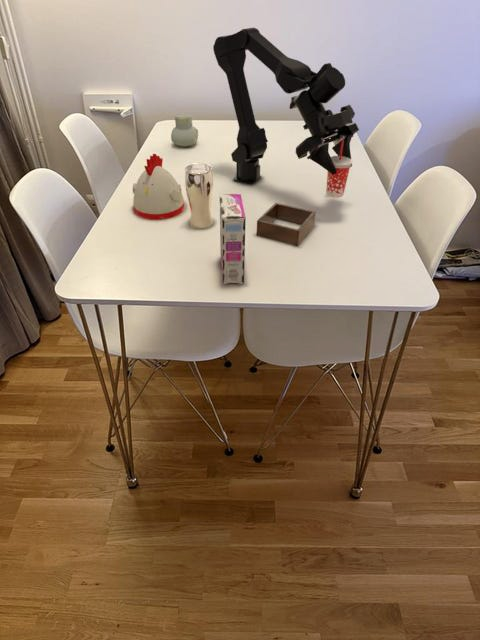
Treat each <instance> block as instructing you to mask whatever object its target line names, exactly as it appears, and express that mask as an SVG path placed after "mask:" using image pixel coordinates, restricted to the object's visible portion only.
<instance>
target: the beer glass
mask: <svg viewBox="0 0 480 640" xmlns="http://www.w3.org/2000/svg"><path fill="white" fill-rule="evenodd" d="M213 177H214V176H213V168H212V166H211V165H210V164H208V163H204V162H197V163H190V164H188V165H186V166H185V168H184V183H185V185H184V186H185V192H186V197H187V201H188V204H189V208H190V209H189V210H190V220H189V224H190V226H191V227H192V228H194V229H201V230H202V229H207V228H209V227H211V226H213V223H214V220H213V216H212V202H213V195H214V178H213Z"/></svg>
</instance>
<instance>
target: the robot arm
mask: <svg viewBox="0 0 480 640" xmlns="http://www.w3.org/2000/svg"><path fill="white" fill-rule="evenodd" d="M212 47H213V48H212V50H213V53H214V57H215V60H216V62H217V65H218V66H219V68H220V69H221V70H222V71H223V73H225V75H226V78H227V84H228V88H229V92H230V95H231V100H232V104H233V108H234V113H235V116H236V120H237V124H238V130H237V131H238V132H237V137H236V143H237V144H236V145H237V147H236V148H235V149H234V150H233V151H232V152H231V154H230V155H231V159H232V162H234V163H235V165H236V168H235V169H236V170H235V171H236V176H235V177H234V178H233V181H235V182H239V183H243V184H247V185H248V184H249V185H254V184H255V183H256V182H258V180H260V179H261V178H262V175H261V164H260V159H263V158H264V155H265V153H266V150H267V149H268V142H269V141H268V139H267V135H266V130H265V128H264V127H260V126H259V125H258V124H257V122H256V118H255V114H254V109H253V105H252V101H251V96H250V91H249V88H248V83H247V79H246V75H245V69H244V68H245V65H246V59H247V53H246V51H248V52H250V54H252V56H254V57H255V58H256V59H258V61H260V63H261V64H263V65H264V66H265V67H266V68H267V69H269V70H270V71H271V72H272V73H273V74H274V77H275V82H276V84H278V86H279V87H280V88H281V89H282V91H283V92H284V93H286V94H288V95H290V94H294V93H297V92H300V93H299V94H298V95H294V96H291V97H290V98H291V99H290V103H289V107H288V108H289V110H293V109H296V108H297V110H298V111H299V114H300V116H301V118H302V120H303V121H304V123H305V124H304V125H302V127H303V130H304V131H306V130H308V131H309V133H310V135H311V136H308V137H306V138H304V139H303V140H302V141H301V142H300V143H299V144H298V145H297V146H296V147H295V154H296V156H297V159H298V160H301V159H303V158H306V159H307V160H311V161H312V162H314V163H316V164H317V165H319V166H320V167H321V168H323V169H324V170H326V171H327V172H328V171H329V172H330V173H331V174H333V175H334V174H336V173H337V171H336V169H335V166H334V164H333V161H332V159H331V157H332V156H331V155H330V153H329V147H330V143H333V144H334V145H333V146H332V147H331V150H333V152H334V153H335V154H336V156H340V150H341V144H342V140H344V143H343V150H342V156H344V157H348V158H350V159H351V160H352V154H351V141H352V138H353V137H354V135H355V134H356V133H357V132H359V131H360V129H359V127H358V125H357V123H356V122H353V119H354V118H355V115H356V113H355V111H354V109H353V107H352V106H351V104H347V105H344V106H341V107H340V110H339V112H336V113H333V111H332V110H331V109H326V108H325V106H324V104H328V103H329V102H330V101H331V100H332V99H333V98H334V97H335V96H336V95H338V94H339V93H340V92H341V91H342V90H343V89H344V88H345V87H346V79H345V76H344V74H343V73H342V72H341V71H340V70H339V69H338V68H336V67H334V66H333V65H332V63H331V62H327V63H324V64H323V65H322V66H321V67H320V69H319V70H318V71H317V72H315V71H313V70H312V69H311V67H310V66H309V65H307V64H306V63H304V62H302V61H300V60H298V59H294V58H291V57H288V56H287V55H285V53H283V52H282V51H281V50H280V49H279V48H277V46H276V45H274V44H273V43H272V42H271V41H270V40H269V39H267V38H266V37H265V36H264V35H262V33H261V32H260V30H259V29H258V28H257V27H248V28H242V29H241V30H240V31H239V30H238V31H237V32H235V33H233V34H228V35H222V36H218V37H216V38H215V41H214V44H213V46H212ZM308 154H309V155H308ZM352 167H353V163H352V164H351V166H350V168H352Z"/></svg>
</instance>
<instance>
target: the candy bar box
mask: <svg viewBox="0 0 480 640" xmlns="http://www.w3.org/2000/svg"><path fill="white" fill-rule="evenodd" d="M246 221H247V216H246V212H245V208H244V202H243V197H242V194H241V193H229V194H228V193H227V194H219V241H220V242H219V243H220V246H219V247H220V265H221V276H222V285H224V286H231V285H245V260H246V259H245V256H246Z"/></svg>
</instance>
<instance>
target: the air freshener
mask: <svg viewBox="0 0 480 640" xmlns="http://www.w3.org/2000/svg"><path fill="white" fill-rule="evenodd" d="M174 120H175V121H174V123H175V127H173V128H172V130H171V133H170V140H171V142H172V144H175V145H176V146H178V147H191V146H193V145H196V144H197V142H198V139H199V130H198V129H197V128H196V127H195V126H193V116H192V114H191V113H188V112H180V113H176V114H175V116H174Z"/></svg>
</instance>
